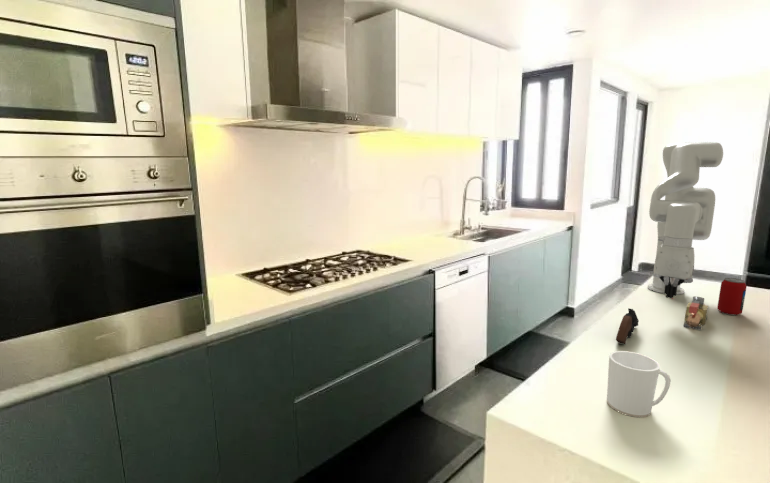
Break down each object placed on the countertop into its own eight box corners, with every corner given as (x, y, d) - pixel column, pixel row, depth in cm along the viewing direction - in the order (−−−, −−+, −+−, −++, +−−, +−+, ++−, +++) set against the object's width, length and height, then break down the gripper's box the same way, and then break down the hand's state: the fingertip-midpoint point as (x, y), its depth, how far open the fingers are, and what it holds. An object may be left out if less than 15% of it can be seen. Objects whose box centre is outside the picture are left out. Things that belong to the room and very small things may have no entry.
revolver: (612, 338, 114) (622, 300, 117) (622, 353, 127) (630, 318, 130) (625, 341, 112) (635, 303, 115) (634, 356, 125) (642, 321, 128)
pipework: (689, 310, 144) (691, 297, 143) (707, 314, 141) (710, 300, 140) (681, 327, 128) (683, 312, 127) (701, 332, 125) (704, 316, 124)
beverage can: (747, 316, 139) (753, 282, 137) (727, 316, 139) (732, 282, 137) (731, 309, 146) (736, 277, 144) (711, 309, 146) (716, 277, 144)
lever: (692, 303, 136) (693, 295, 135) (703, 305, 134) (704, 297, 133) (686, 312, 126) (687, 305, 126) (698, 315, 124) (699, 307, 124)
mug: (598, 405, 85) (603, 360, 83) (612, 390, 91) (616, 347, 90) (659, 429, 77) (666, 379, 76) (670, 410, 84) (676, 364, 82)
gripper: (647, 240, 132) (640, 294, 136) (704, 247, 122) (695, 305, 125) (653, 237, 137) (647, 289, 141) (709, 243, 127) (700, 299, 130)
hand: (669, 296), depth 133 cm, fingers closed
